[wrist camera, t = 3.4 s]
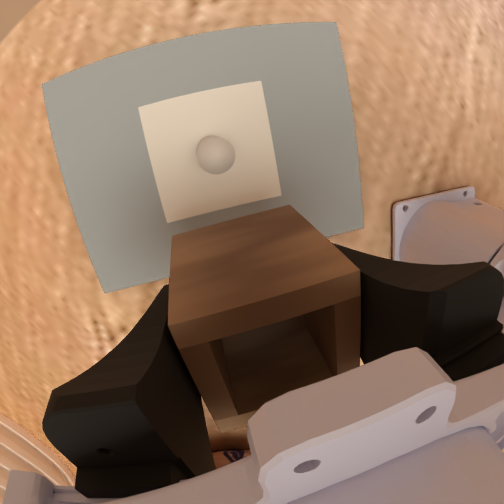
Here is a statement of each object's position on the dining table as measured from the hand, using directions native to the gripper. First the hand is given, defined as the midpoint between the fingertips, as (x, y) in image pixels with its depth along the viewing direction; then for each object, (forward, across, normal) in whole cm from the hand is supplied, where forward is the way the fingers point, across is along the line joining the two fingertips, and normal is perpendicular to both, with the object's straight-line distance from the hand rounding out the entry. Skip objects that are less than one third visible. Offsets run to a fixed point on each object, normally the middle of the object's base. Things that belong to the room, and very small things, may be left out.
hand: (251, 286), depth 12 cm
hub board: (+9, 0, -4) cm, 10 cm away
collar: (+2, 0, 0) cm, 2 cm away
